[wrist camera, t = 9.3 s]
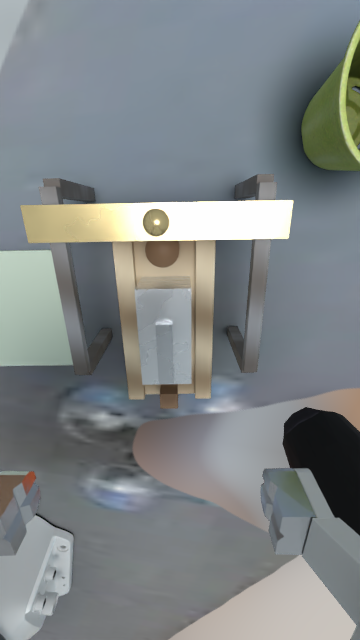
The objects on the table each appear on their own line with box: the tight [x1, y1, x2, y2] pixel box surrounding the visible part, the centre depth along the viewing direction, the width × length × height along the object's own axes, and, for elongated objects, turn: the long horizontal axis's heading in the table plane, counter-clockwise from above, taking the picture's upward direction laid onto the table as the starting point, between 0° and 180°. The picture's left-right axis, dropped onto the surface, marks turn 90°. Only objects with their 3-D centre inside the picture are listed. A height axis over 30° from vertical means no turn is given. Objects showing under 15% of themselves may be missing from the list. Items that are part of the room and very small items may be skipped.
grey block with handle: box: [134, 276, 191, 385], centre depth 22 cm, size 8×4×5 cm, turn 1°
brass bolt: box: [20, 200, 293, 243], centre depth 15 cm, size 2×15×2 cm, turn 91°
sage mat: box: [0, 250, 73, 366], centre depth 27 cm, size 12×9×1 cm
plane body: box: [39, 174, 277, 408], centre depth 23 cm, size 19×14×8 cm
